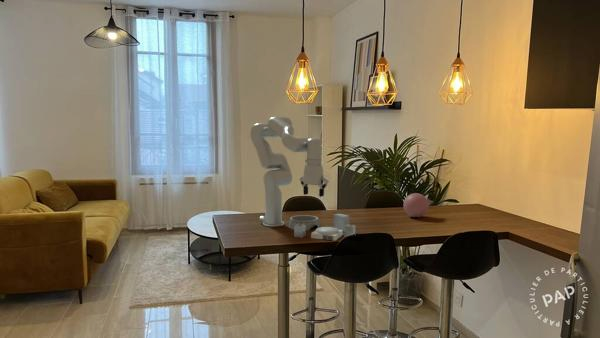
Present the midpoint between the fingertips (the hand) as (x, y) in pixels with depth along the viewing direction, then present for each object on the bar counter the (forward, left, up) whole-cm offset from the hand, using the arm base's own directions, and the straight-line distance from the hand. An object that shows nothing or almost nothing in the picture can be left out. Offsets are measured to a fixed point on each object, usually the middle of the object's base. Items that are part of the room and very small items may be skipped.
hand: (313, 195), depth 220 cm
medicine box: (+10, +16, -22) cm, 29 cm away
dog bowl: (-11, +16, -22) cm, 30 cm away
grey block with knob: (-6, -5, -21) cm, 23 cm away
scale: (+7, +1, -21) cm, 23 cm away
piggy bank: (+46, +70, -22) cm, 86 cm away
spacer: (+18, +5, -21) cm, 29 cm away
